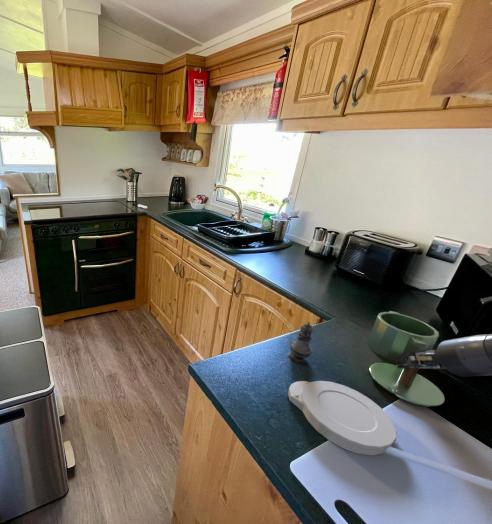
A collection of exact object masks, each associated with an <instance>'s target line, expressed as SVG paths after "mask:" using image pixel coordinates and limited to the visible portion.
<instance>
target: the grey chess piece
mask: <svg viewBox="0 0 492 524" xmlns="http://www.w3.org/2000/svg"><path fill="white" fill-rule="evenodd" d="M313 331H314V329H313V326H312V325H311V323H310V321H308V322H306V323H302V324H301V326H300V330H299V332H298V333H297V335H296V336H297V337H296V338H297V339H296V341H295V340H293V341H291V342H290V343H289V349H290V351H289V352H288V353H287V357H288V359H290V360H291V361H292V362H294V363H297V364H300V365H306V364H307V362H306V359H307V358H309V357H310V356H311V354H313V349H312V347H311V346H309V344H310V341H312V333H313Z"/></svg>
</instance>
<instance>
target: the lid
mask: <svg viewBox="0 0 492 524" xmlns="http://www.w3.org/2000/svg"><path fill="white" fill-rule="evenodd" d="M287 395H288V399H289V402H290V403H292V404H293V405H294V406H296V407H297V408H298V409H299V410H300V411H301V412H302V413H303V415H304V417H305V418H306V420H307V421H308V423H309V424H310V425H311V426H312V427H313V428H314V430H316V432H317V433H319V434H320V435H322V436H323V437H324V438H325V439H327V440H328V441H329V442H331V443H332V444H334V445H336V446H338V447H340V448H342V449H344V450H346V451H349V452H352V453H355V454H358V455H364V456H377V455H381V454H384V453H385V452H386V451H387V450H388V448H390V447H392V445H393V444H394V443H395V442H396V440H397V429H396V427H395V426H396V425H394V422H393V421H392V418H391V417H390V415H388V414H387V412H385V411H384V409H383V408H382V407H380V405H378V404H377V403H376V402H375V401H373V400H372V399H371V398H369V397H368V396H366V395H364V394H363V393H361V392H360V391H358V390H355V389H353V388H351V387H350V386H346V385H344V384H341V383H337V382H334V381H328V380H316V381H315V380H314V381H306V380H300V381H299V380H298V381H295V382H293V383H291V384H290V385H289V388H288V391H287Z"/></svg>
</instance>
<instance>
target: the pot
mask: <svg viewBox="0 0 492 524" xmlns="http://www.w3.org/2000/svg"><path fill="white" fill-rule="evenodd" d="M439 334H440V333H439V331H438V330H437V329H436V328H434V327H433V326H431V325H430V324H428V323H426V322H424V321H422V320H421V319H417V318H415V317H412V316H410V315H406V314H402V313H399V312H397V311H392V310H389V311H383V312H379V313H378V314H377V316H376V319H375V321H374V323H373V327H372V329H371V332H370V334H369V336H368V340H367V342H366V344H367V346H368V348H369V349H370V350H371V351H372V352H374V353H375V354H376V355H378V356H379V357H382V358H383V359H385V360H387V361H390V362H392V363H395V364H396V361H395V360H396V359H399V358H402V357H401V356H402V355H405V354H407V353H410V352H413V353H421V352H426V351H428V350H433V348H434V347H435V344H436V342H437V340H438V338H439V337H440V335H439Z"/></svg>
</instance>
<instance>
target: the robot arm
mask: <svg viewBox="0 0 492 524" xmlns="http://www.w3.org/2000/svg"><path fill="white" fill-rule="evenodd" d="M401 357H402V358H399V359H396V360H395V361H396V363H395V365H397V367H398V368H408V367H411V368H414V367H419V368H420V369H425V370H426V369H428V370H432V369H433V370H446V371H448V372H449V373H451V374H453V375H455V376H458V377H463V378H467V377H469V378H470V377H484V376H492V333H488V334H487V333H485V334H476V335H470V336H464V337H458V338H452V339H447V340H443V341H441V342H440V343H439V344H438V345H437V348H436V349H432V350H428V351H426V352H421V353H413V352H410V353H407V354H405V355H402V356H401Z"/></svg>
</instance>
